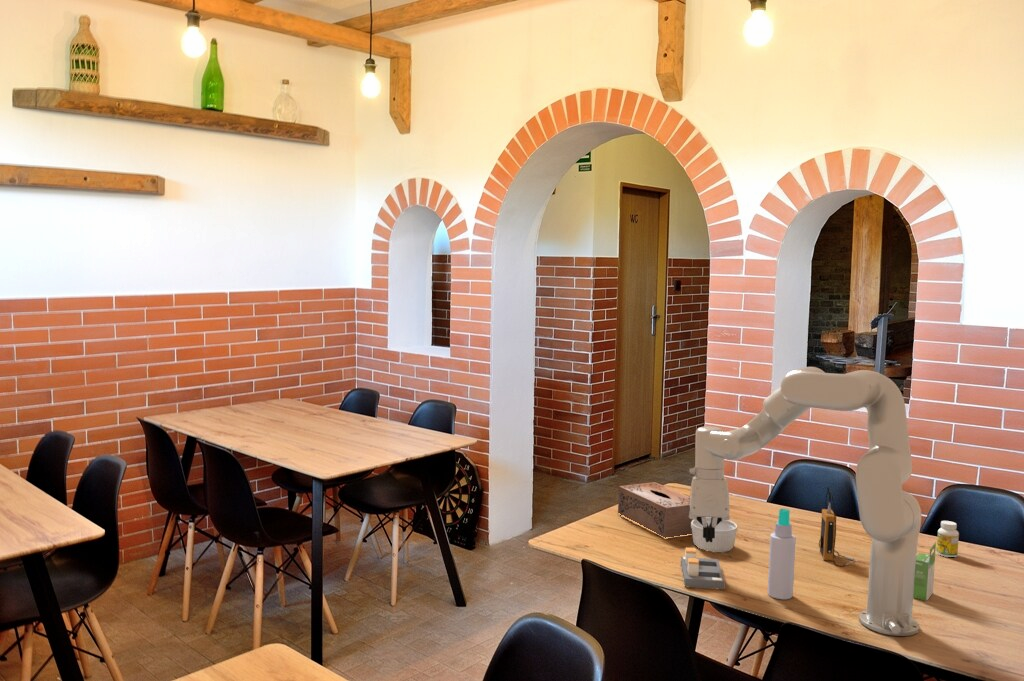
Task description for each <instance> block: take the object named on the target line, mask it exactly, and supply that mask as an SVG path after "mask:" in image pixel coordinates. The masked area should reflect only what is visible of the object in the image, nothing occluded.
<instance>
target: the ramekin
mask: <svg viewBox="0 0 1024 681" xmlns="http://www.w3.org/2000/svg"><path fill="white" fill-rule="evenodd" d="M706 520H707V523H708V526H709V524H710V523H711V517H706ZM691 528H692V535H691V536H692V541H693V544H694V546H695V545H696V546H697V547H699V548H701V549H704V550H708V551H714V552H713V553H716V552H721V553H726V551H727V552H729V551H731V550H732V549H733V548H734V546H735V543H736V542H735V541H736V536H737V531H738V525H737V523H736V522H734V521H732V520H730V519H729V520H725V521H721V522H720V523H719V524H718V525H717V526H716V527H715V538H712V542H706V540H705V538H703V526H702V525H701V524H700V523H699V522H698V521H697V520H692V522H691ZM696 546H695V547H696ZM697 547H696V548H697ZM699 548H698V549H699ZM701 549H700V550H701ZM704 550H703V551H704ZM708 551H707V552H708Z"/></svg>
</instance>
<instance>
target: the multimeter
mask: <svg viewBox="0 0 1024 681" xmlns="http://www.w3.org/2000/svg"><path fill="white" fill-rule="evenodd" d="M826 490H827V491H826V496H825V501H824V502H825V504H824V505H825V508H821V519H820V522H821V523H820V535H819V536H820V537H819V541H818V547H819V554H820V556H821V558H822V560H823V561H830V562H833V564H834V565H835V566H836V567H841V568H842V567H846V566H849V565H850V564H851V563H853V562H854V561H856V562H859V563H860V562H861V561H860V560H856V559H855V558H852V557H849V556H845V555H841V554H839V552H838V551H837V550H835V547H836V546H835V545H836V539H837V538H836V537H837V536H836V535H837V516H836V509H835V503H834V497H833V493H832V491H830V487H829V486H827V487H826ZM828 496H829V497H828ZM827 498H828V506H827ZM831 501H832V503H831ZM831 504H832V506H833V509H832V506H831ZM835 553H837V555H838V556H839V557H842V558H845V559H846V560H847V559H848V560H850V561H848V562H847V563H845V564H844V565H839V564H836V563H835Z"/></svg>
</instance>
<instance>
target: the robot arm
mask: <svg viewBox="0 0 1024 681" xmlns="http://www.w3.org/2000/svg"><path fill="white" fill-rule="evenodd" d="M811 408H812V409H820V410H821V409H822V410H831V411H840V412H852V411H856V410H857V411H858V410H860V409H862V408H865V409H866V411H867V422H866V429H867V436H868V451H866V452H865V453H864V454H863V455H862V456H861V457H859V459H858V461H857V465H856V467H855V468H856V469H855V482H856V484H855V485H856V492H857V503H858V512H859V513H858V514H859V520H860V523H861V526H862V528H863V530H864V531H865V533H866V534H867V535H868V536H869V537H870V538H871V543H870V545H871V546H870V556H869V570H868V586H867V601H866V602H867V603H866V609H864V610H862V611H860V612H859V614H858V620H859V622H860V623H861V624H862V625H863V626H864V627H866V628H867V629H869V630H871V631H873V632H877V633H879V634H884V635H889V636H894V637H909V636H913V635H915V634H917V633H919V630H920V624H919V622H917V620H915V619H914V618H913V617H912V616H913V606H914V605H913V604H914V598H913V592H914V578H915V564H916V556H917V553H918V542H919V535H920V531H921V530H920V529H921V525H922V509H921V505H920V503H919V501H918V500H917V498H915V496H914V495H912V494H911V493H909V492H908V491H905V490H903V484H904V483H905V482H907V481H908V480H909V479H910V477H911V476H912V474H913V460H912V453H911V444H910V434H909V429H908V427H909V426H908V421H907V420H908V419H907V409H906V405H905V398H904V396H903V393H902V392H901V389H900V388H899V386H897V384H896V383H895V382H894V381H893V380H892V379H891V378H889V377H888V376H886V375H884V374H882V373H879V372H877V371H873V370H867V369H859V370H855V371H850V372H846V373H831V372H830V373H829V372H825V371H824V370H823V369H821V368H819V367H817V366H806V367H802V368H797V369H793V370H791V371H789V372H788V373H786V375H784V377H783V378H782V380H781V382H780V386H779V387H778V388H776V389H775V390H774V391H773V392H772V393H771V394H769V395H768V396H767V397H766V398H764V400H763V402H762V410H761V411H760V412H759V413H758V414H756V416H754V418H752V419H751V420H750V421H748V422H747V423H746V424H745V425H743V426H742V427H738V428H736V429H732V430H728V431H724V430H723V429H722V428H721V427H718V426H708V425H707V426H701V427H698V428H697V429H696V430H695V450H694V452H695V455H694V456H695V457H694V458H695V461H694V464H695V465H694V467H692V468H689V474H691V475H694V476H692V480H691V484H690V491H689V492H690V493H689V496H690V512H689V518H690V519H694V520H697V521H698V522H699V523H700V524H701V525H702V526H703V538H705V540H706V542H712V538H715V527H716V526H717V525H718V524H719V523H720V522H721V521H725V520H730V518H731V517H730V492H729V491H730V490H729V483H728V479H727V478H726V477H725V460H726V461H738V460H740V459H744V458H746V457H749V456H751V455H754V454H755V453H757V452H759V451H760V450H762V449H763V448H764V447H766V446H767V445H768V444H770V443H771V442H773V440H775V439H776V438H777V437H778V436H779V435H780V434H781V433H782V432H784V430H785V429H787V427H788V426H789V425H790V424H792V423H793V422H795V421H796V420H797V419H798V418H799V417H801V416H802V415H803V414H805V413H806V412H807V411H809V410H810V409H811ZM706 517H711V523H710V524H709V526H708V523H707V520H706Z"/></svg>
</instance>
